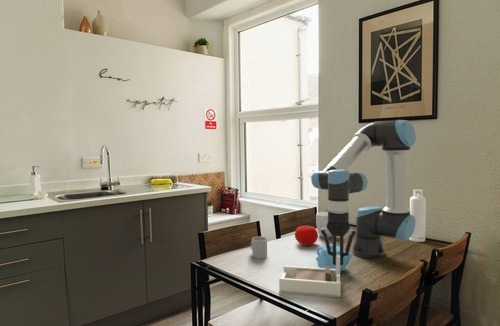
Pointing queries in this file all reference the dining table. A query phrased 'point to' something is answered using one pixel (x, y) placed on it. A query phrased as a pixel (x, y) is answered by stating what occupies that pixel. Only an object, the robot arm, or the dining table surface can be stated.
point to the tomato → (306, 235)
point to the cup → (259, 247)
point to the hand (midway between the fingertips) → (337, 273)
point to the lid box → (308, 283)
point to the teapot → (331, 258)
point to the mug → (322, 222)
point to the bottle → (418, 215)
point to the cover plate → (315, 275)
